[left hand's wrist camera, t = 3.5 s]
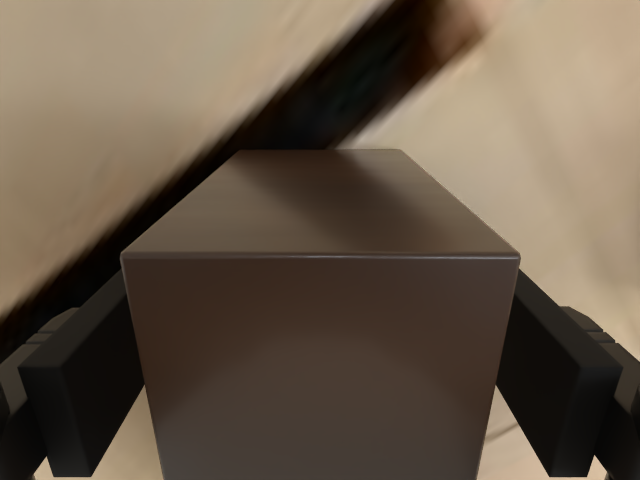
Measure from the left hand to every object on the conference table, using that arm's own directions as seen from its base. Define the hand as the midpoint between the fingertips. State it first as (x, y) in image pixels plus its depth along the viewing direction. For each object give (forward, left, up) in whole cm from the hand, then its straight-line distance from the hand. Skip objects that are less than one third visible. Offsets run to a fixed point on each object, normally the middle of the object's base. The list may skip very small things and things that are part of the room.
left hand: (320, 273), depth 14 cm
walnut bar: (+9, 0, 0) cm, 9 cm away
